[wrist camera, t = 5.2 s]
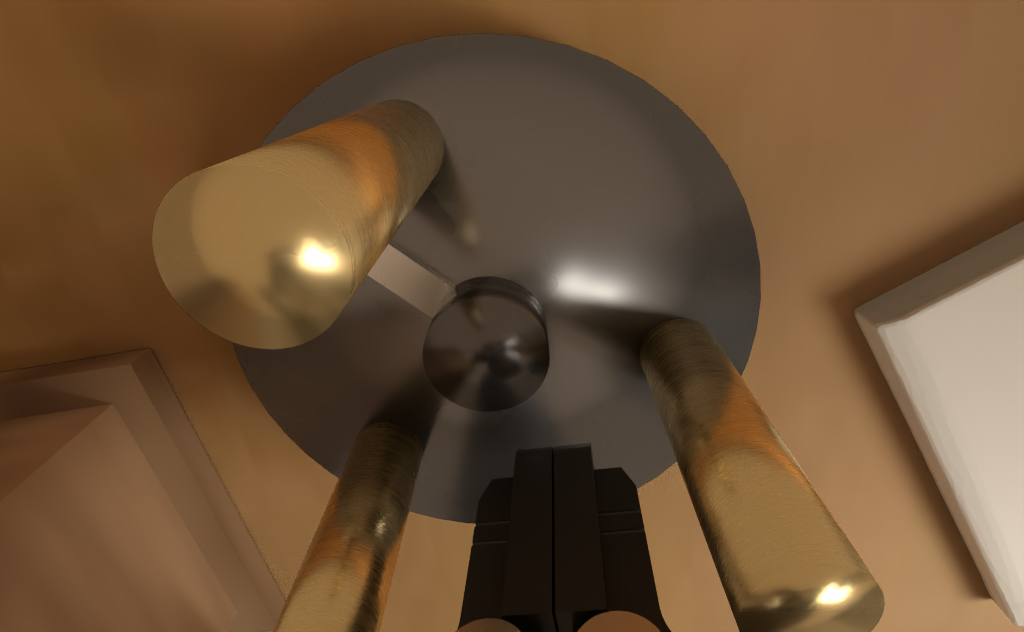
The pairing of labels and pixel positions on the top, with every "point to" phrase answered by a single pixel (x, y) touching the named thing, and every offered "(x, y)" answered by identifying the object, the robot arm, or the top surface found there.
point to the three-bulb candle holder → (502, 314)
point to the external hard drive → (966, 395)
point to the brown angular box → (118, 509)
